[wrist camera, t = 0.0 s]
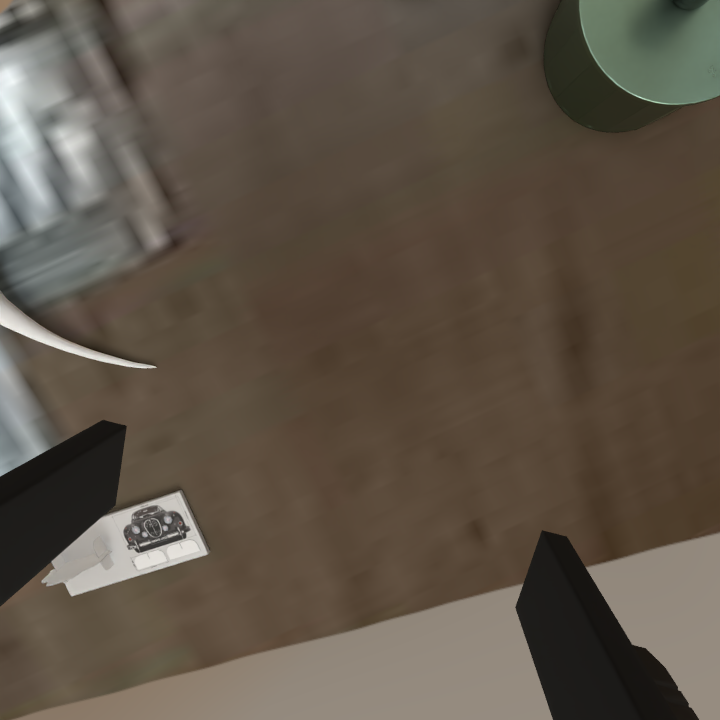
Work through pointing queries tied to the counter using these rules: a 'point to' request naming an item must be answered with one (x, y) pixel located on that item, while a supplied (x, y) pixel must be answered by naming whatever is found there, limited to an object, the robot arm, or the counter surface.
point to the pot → (588, 81)
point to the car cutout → (130, 545)
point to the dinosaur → (51, 335)
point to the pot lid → (655, 48)
